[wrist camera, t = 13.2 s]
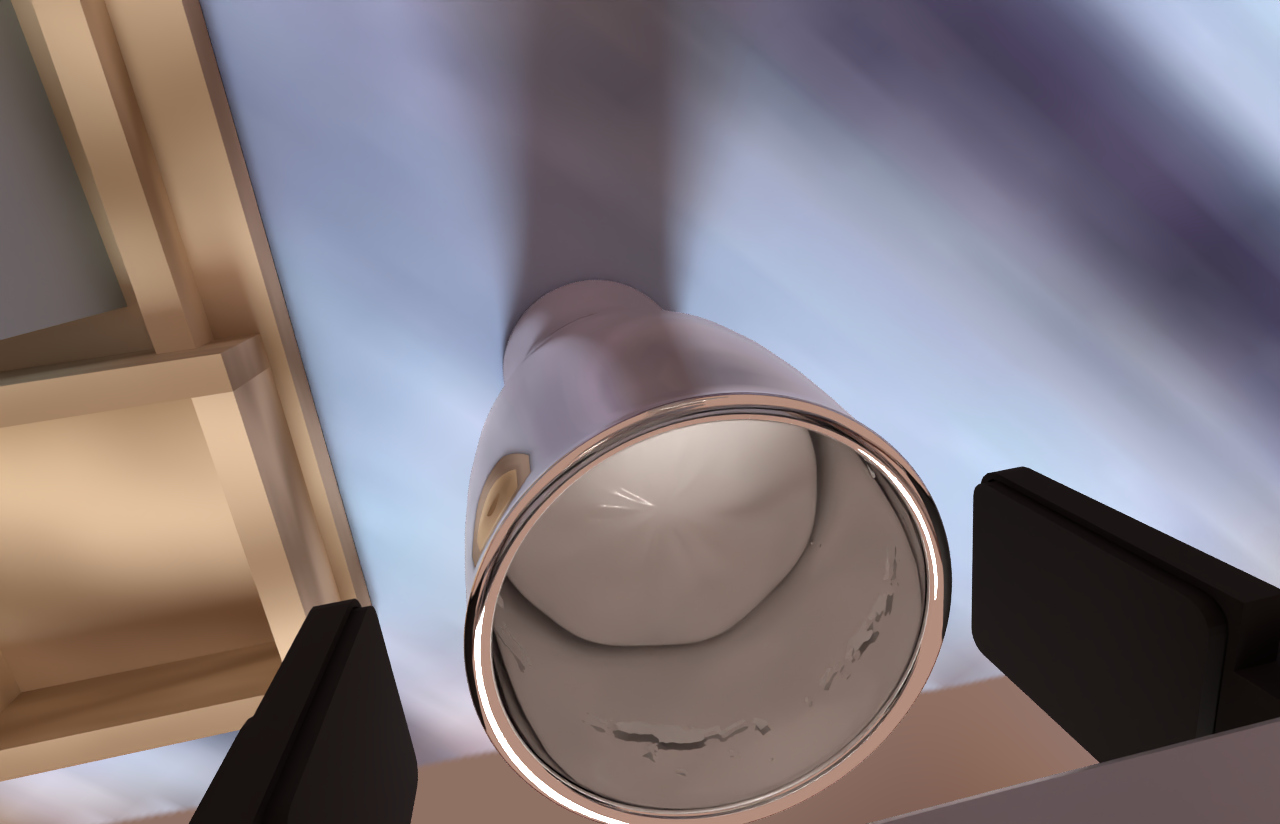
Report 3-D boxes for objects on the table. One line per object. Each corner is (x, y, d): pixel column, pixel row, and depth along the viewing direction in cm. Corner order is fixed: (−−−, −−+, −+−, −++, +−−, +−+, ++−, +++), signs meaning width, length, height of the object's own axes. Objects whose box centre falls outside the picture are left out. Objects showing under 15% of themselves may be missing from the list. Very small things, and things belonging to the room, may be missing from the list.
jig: (-378, -62, 16) (-655, -143, 12) (169, -100, 17) (75, -183, 14) (9, 702, 23) (-92, 801, 19) (377, 627, 24) (352, 705, 21)
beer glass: (576, 504, 24) (661, 925, 10) (444, 353, 22) (314, 625, 8) (733, 386, 24) (1046, 648, 10) (616, 220, 22) (806, 252, 8)
